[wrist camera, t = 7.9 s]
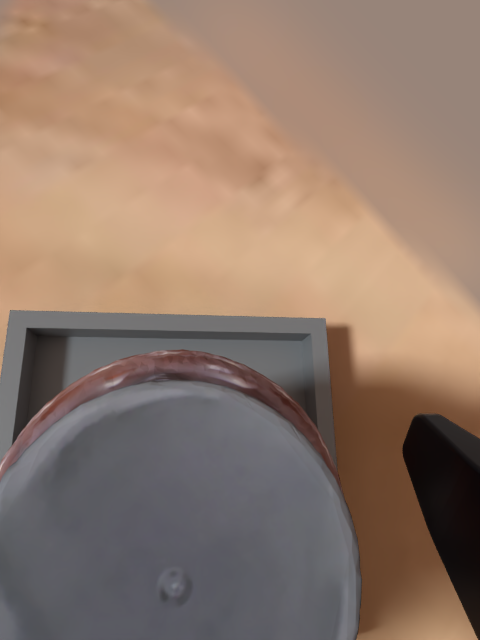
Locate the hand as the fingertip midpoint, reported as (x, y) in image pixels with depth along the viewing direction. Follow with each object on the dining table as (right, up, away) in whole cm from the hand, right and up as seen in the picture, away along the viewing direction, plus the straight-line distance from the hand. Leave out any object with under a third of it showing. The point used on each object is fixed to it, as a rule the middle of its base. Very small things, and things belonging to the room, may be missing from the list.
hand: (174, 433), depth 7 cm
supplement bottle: (-1, -4, +7) cm, 8 cm away
